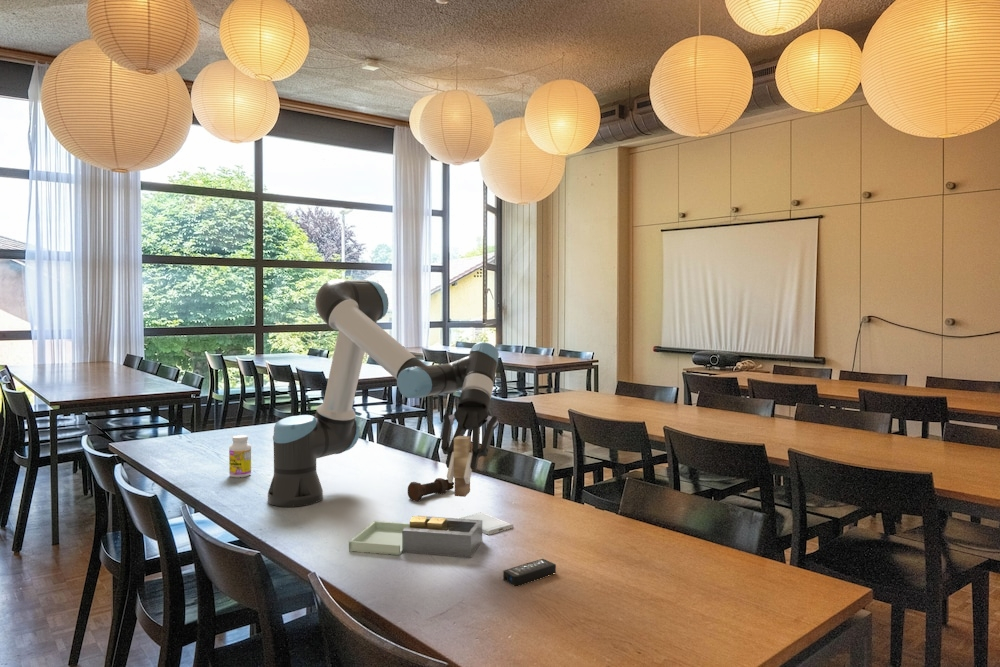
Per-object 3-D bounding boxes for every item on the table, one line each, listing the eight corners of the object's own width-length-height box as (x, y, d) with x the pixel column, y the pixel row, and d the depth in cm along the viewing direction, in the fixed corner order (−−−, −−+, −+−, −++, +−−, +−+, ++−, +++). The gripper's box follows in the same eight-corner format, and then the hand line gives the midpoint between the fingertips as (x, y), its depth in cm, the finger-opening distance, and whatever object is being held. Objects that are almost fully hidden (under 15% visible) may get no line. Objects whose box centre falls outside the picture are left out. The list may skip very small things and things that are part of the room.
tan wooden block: (427, 535, 156) (427, 522, 156) (432, 529, 160) (432, 517, 160) (441, 536, 155) (441, 523, 155) (446, 530, 159) (446, 518, 159)
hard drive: (457, 518, 175) (488, 530, 166) (482, 511, 180) (513, 523, 171) (457, 524, 175) (488, 537, 166) (482, 518, 180) (513, 529, 171)
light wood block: (409, 534, 157) (409, 521, 156) (412, 528, 161) (412, 516, 160) (424, 534, 156) (424, 522, 156) (427, 529, 160) (427, 516, 160)
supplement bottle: (224, 476, 220) (224, 437, 219) (239, 472, 226) (239, 433, 225) (241, 479, 217) (240, 439, 217) (255, 474, 223) (255, 435, 223)
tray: (348, 551, 154) (348, 541, 154) (374, 529, 169) (374, 521, 169) (399, 555, 152) (399, 545, 152) (420, 533, 166) (420, 524, 166)
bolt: (452, 496, 205) (414, 505, 194) (443, 485, 208) (404, 494, 197) (459, 481, 203) (421, 490, 192) (449, 471, 206) (411, 478, 195)
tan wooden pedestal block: (453, 495, 154) (453, 439, 154) (458, 490, 159) (458, 435, 158) (466, 496, 154) (466, 439, 153) (471, 491, 158) (471, 436, 157)
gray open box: (402, 552, 154) (402, 530, 153) (418, 536, 164) (417, 515, 164) (470, 557, 150) (470, 535, 150) (482, 541, 161) (482, 520, 161)
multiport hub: (556, 575, 142) (556, 564, 142) (516, 588, 135) (516, 577, 135) (542, 568, 146) (542, 558, 145) (502, 581, 139) (502, 570, 139)
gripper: (510, 406, 169) (496, 490, 153) (446, 404, 172) (426, 486, 156) (506, 388, 163) (490, 473, 148) (440, 386, 166) (419, 469, 151)
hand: (458, 480), depth 152 cm, fingers closed on tan wooden pedestal block, 3 cm apart
